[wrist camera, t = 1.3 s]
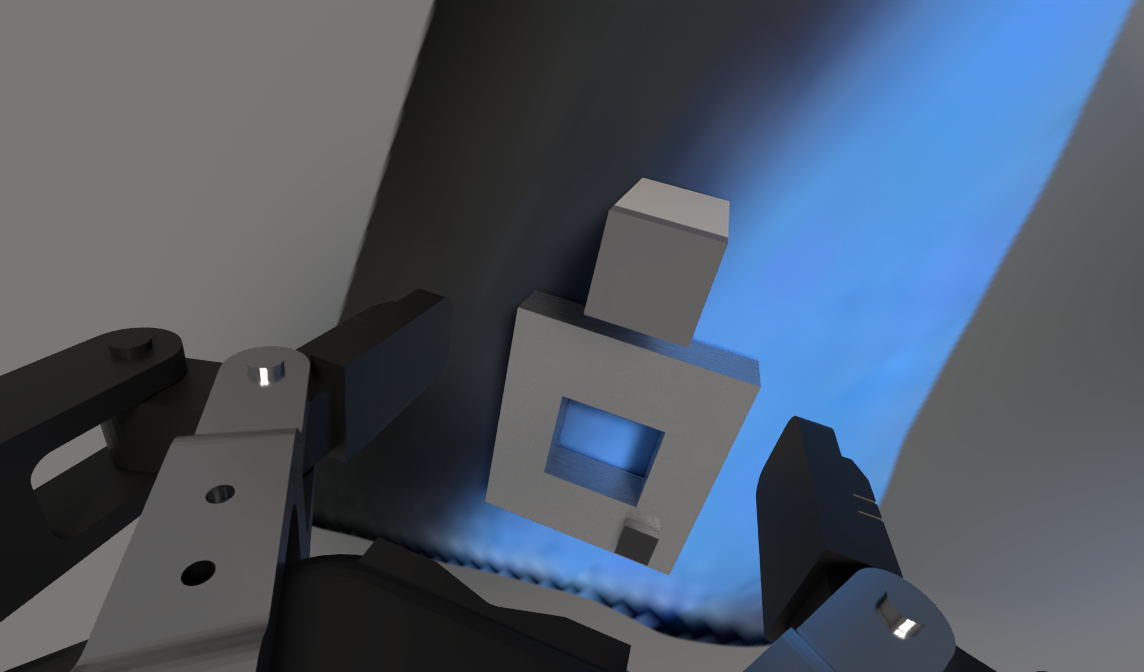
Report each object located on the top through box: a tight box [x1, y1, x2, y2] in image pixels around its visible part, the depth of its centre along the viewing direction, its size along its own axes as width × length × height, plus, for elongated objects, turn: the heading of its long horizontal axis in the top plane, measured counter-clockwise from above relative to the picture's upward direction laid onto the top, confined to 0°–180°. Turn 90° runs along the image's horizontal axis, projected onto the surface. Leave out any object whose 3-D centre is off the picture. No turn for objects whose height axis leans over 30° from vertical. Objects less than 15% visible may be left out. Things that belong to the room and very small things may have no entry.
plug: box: [584, 178, 730, 348], centre depth 20 cm, size 4×4×7 cm
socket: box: [485, 290, 761, 575], centre depth 28 cm, size 14×12×3 cm
